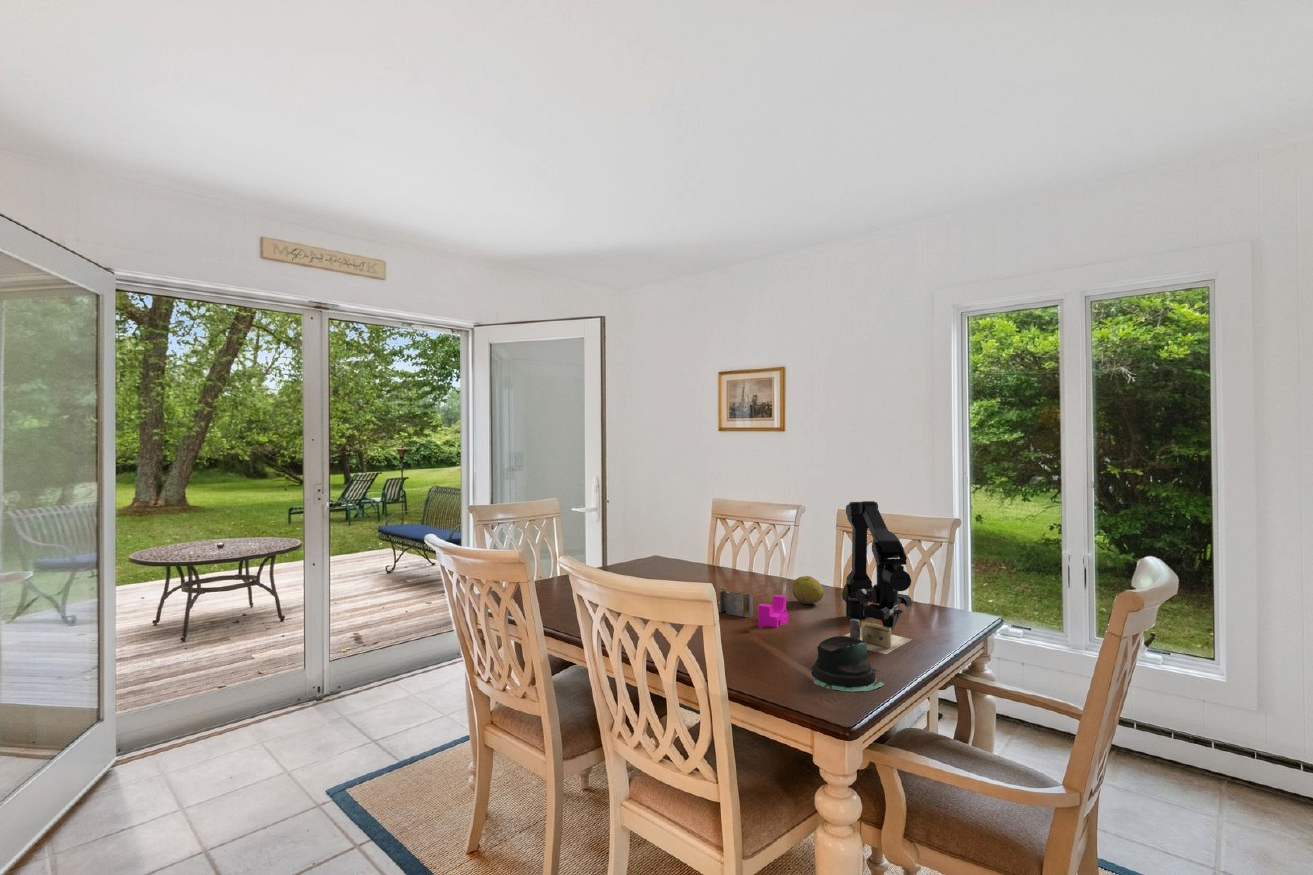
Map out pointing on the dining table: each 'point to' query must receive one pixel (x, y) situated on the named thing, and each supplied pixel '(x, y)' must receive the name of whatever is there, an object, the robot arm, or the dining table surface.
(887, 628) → the brass leaf
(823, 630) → the dining table surface
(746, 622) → the dining table surface
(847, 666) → the dark green hat
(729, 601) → the ruin model on sheet
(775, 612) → the toy block
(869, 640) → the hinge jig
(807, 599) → the fruit
